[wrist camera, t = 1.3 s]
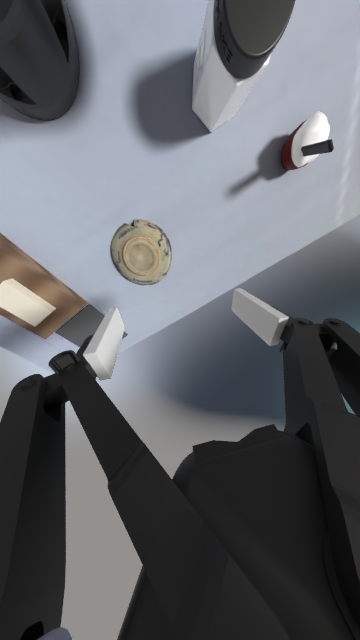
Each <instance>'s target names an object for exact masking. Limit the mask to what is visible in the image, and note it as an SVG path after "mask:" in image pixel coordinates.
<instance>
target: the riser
mask: <svg viewBox="0 0 360 640" xmlns="http://www.w3.org/2000/svg"><path fill="white" fill-rule="evenodd" d="M12 278H13V279H14V280H16V281H17V282H19V283H20V284H21V285H23V286H24V287H26V288H27V289H29V290H30V291H32V292H33V293H35V294H36V295H38V296H39V297H40V298H42V299H43V300H45V301H46V302H48V303H49V304H51V305H52V306H54V307H55V308H56V309H55V310H54V311H53V312H52V313H51V314H50V315H48V316H47V317H46V318H45V319H44V320H43V321H42V322H41V323H39V324H38V325H37V326H35V327H34V326H33V325H31V324H29V323H27V322H26V321H24V320H22V319H21V318H19V317H17V316H15V315H14V314H12V313H10V312H8V311H7V310H5V309H3V308H1V307H0V315H2V316H4V317H6V318H8V319H10V320H11V321H13V322H15V323H17V324H19V325H20V326H22V327H24V328H26V329H28V330H30V331H31V332H33V333H35V334H37V335H39V336H41V337H42V338H44V339H46V338H47V337H49V336H50V335H51V334H52V333H53V332H54V331H56V330H57V329H58V328H59V327H60V326H62V325H63V324H64V323H65V322H66V321H68V320H69V319H70V318H71V317H72V316H74V315H75V314H76V313H77V312H78V311H80V310H81V309H82V308H83V307H84V306H85V305H86V304H87V303H88V302H86V301H85V300H84V299H82V298H81V297H80V296H79V295H77V294H76V293H75V292H74V291H72V290H71V289H70V288H69V287H67V286H66V285H65V284H64V283H62V282H61V281H60V280H59V279H57V278H56V277H55V276H54V275H52V274H51V273H50V272H49V271H47V270H46V269H45V268H43V267H42V266H41V265H40V264H38V263H37V262H36V261H35V260H33V259H32V258H31V257H30V256H28V255H27V254H26V253H25V252H23V251H22V250H21V249H20V248H18V247H17V246H16V245H15V244H13V243H12V242H11V241H10V240H8V239H7V238H6V237H5V236H3V235H2V234H1V233H0V284H1V283H2V282H3V281H5V280H8V279H12Z"/></svg>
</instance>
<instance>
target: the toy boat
mask: <svg viewBox="0 0 360 640" xmlns="http://www.w3.org/2000/svg"><path fill="white" fill-rule="evenodd" d="M329 131H330V126H329V124H328V122H327V117H326V116H325V115H324V114H323V113H321V112H319V111H317V112H315V113H314V114H313V115H312V116H310V117H309V118H308V119H307V120H305V121H304V122H303V123H302V124H301V125H300V126H299V127H298V128H297V129H295V130H294V132H293V133H292V134H291V135H290V136H289V137H288V139H287V141H286V143H285V145H284V147H283V151H282V155H281V162H282V164H283V167H284V168H286V169H288V170H294V169H297V168H301V167H303V166H305V165H306V164H308V163H309V162H311V161H312V160H314V159H315V158H316V157H317V156H318V155H319V154H322V153H328V152H332V151H333V149H334V147H333V143H332V139H331V140H327V138H328V135H329Z"/></svg>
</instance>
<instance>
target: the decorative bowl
mask: <svg viewBox="0 0 360 640" xmlns="http://www.w3.org/2000/svg"><path fill="white" fill-rule="evenodd" d="M111 252H112V257H113V261H114V263H115V265H116V267H117V269H118V270H119V272H120V273H121V274H122V275H123V276H124V277H125V278H126V279H128V280H129V281H131V282H133V283H135V284H139V285H149V284H150V285H151V284H156V283H158V282H159V281H161V280H162V279H163V278H164V277H165V276H166V274H167V272H168V269H169V267H170V263H171V246H170V242H169V240H168V238H167V236H166V234H165V233H164V232H163V230H162V229H161V228H160V227H158V226H157V225H155V224H154V223H152V222H150V221H147V220H141V219H137V220H134V227H133V226H131V225H129V224H123V225H122V226H120V227H119V228H118V230H117V231H116V232H115V234H114V236H113V239H112V244H111Z"/></svg>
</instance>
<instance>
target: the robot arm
mask: <svg viewBox="0 0 360 640" xmlns="http://www.w3.org/2000/svg"><path fill="white" fill-rule="evenodd" d="M78 82H79V57H78V49H77V43H76V38H75V34H74V29H73V26H72V22H71V19H70V15H69V12H68V9H67V7H66V4H65V1H64V0H0V98H2V99H3V100H4V101H5V102H6V103H8V104H9V105H10V106H12V107H13V108H15V109H16V110H18V111H20V112H22V113H23V114H25V115H28V116H30V117H33V118H37V119H42V120H51V119H55V118H58V117H60V116H62V115H63V114H65V113H66V112H67V111H68V110H69V108H70V107H71V105H72V103H73V101H74V99H75V96H76V93H77V89H78ZM232 311H233V312H234V313H235V314H236V315H237V316H238V317H239V318H240V319H241V320H242V321H243V322H245V323H246V324H247V325H248V326H249V327H250V328H251V329H252V330H253V331H254V332H255V333H256V334H257V335H259V336H260V337H261V338H262V339H263V340H264V341H265V342H266V343H267V344H268V345H269V346H272V345H277V344H278V343H279V340H280V339H281V340H283V341H284V342H283V344H282V347H281V349H280V352H281V351H283V372H284V392H285V413H286V425H285V429H284V431H279V430H277V428H276V427H275V425H274V424H272V425H269V426H265V427H261V428H258V429H255V430H253V431H252V432H251V433H249V434H248V435H247V436H245V437H244V438H243V439H241V440H240V441H238V442H228V441H215V440H213V441H209V442H206V443H202V444H199V445H195V446H193V452H192V453H191V454H189V455H188V456H187V457H186V458H185V459H184V460H183V461H182V463H181V464H180V466H179V467H178V469H177V470H176V473H175V475H174V477H173V479H171V478H170V477H169V475H168V474H167V473H166V471H165V470H164V469H163V467H162V466H161V465H160V464H159V462H158V461H157V460H156V458H155V457H154V456H153V454H152V453H151V452H150V451H149V449H148V448H147V447H146V445H145V444H144V443H143V442H142V441H141V440H140V438H139V437H138V436H137V434H136V433H135V432H134V430H133V429H132V428H131V426H130V425H129V424H128V422H127V421H126V420H125V418H124V417H123V416H122V414H121V413H120V412H119V410H118V409H117V408H116V407H115V405H114V404H113V403H112V401H111V400H110V399H109V398H108V396H107V395H106V393H105V392H104V391H103V389H102V388H101V387H100V386H99V384H98V383H97V382H96V377H98V378H99V380H105V379H110V378H111V376H112V372H113V369H114V365H115V361H116V358H117V355H118V351H119V347H120V344H121V340H122V337H123V333H124V330H125V327H124V324H123V322H122V319H121V316H120V314H119V311H118V308H117V307H114V308H109V310H108V312H107V313H106V315H105V317H104V319H103V320H102V322H101V324H100V326H99V327H98V329H97V331H96V333H95V334H94V335H90V336H89V337H87V338H86V339H85V341H84V342H83V345H81V347H80V348H79V350H78V352H77V353H76V354H75V352H74V351H72V350H68V351H64V352H62V353H59V354H58V355H56V356H54V357H53V358H52V359H51V360H50V362H49V366H50V367H51V368H52V370H53V371H54V372H55V374H52V375H50V376H47V377H45V378H44V377H43V376H42V375H40V374H34V375H31V376H29V377H27V378H25V379H23V380H22V381H20V382H19V383H18V384H17V385H16V386H15V387H14V388H13V390H12V392H11V395H10V397H9V400H8V403H7V406H6V408H5V411H4V414H3V416H2V419H1V422H0V640H72V637H71V636H70V634H69V632H68V630H67V629H65V628H62V627H60V624H61V616H62V606H63V598H64V588H65V566H66V564H65V563H66V519H65V518H66V509H65V507H66V501H65V402H67V401H69V400H70V402H71V404H72V406H73V408H74V411H75V412H76V415H77V416H78V419H79V421H80V423H81V425H82V427H83V429H84V431H85V433H86V435H87V437H88V439H89V441H90V443H91V445H92V448H93V450H94V452H95V453H96V456H97V458H98V460H99V462H100V464H101V466H102V468H103V470H104V472H105V474H106V476H107V479H108V489H109V492H110V495H111V497H112V500H113V502H114V504H115V506H116V508H117V510H118V513H119V515H120V517H121V519H122V521H123V523H124V525H125V528H126V530H127V532H128V534H129V536H130V538H131V540H132V543H133V545H134V547H135V549H136V551H137V553H138V556H139V558H140V560H141V562H142V564H143V566H142V569H141V572H140V575H139V578H138V581H137V584H136V586H135V590H134V592H133V595H132V598H131V601H130V604H129V607H128V610H127V613H126V616H125V618H124V622H123V624H122V628H121V630H120V633H119V636H118V639H117V640H360V333H359V332H357V331H356V330H355V329H354V328H352V327H351V326H350V325H349V324H347V323H345V322H344V321H341V320H339V319H332V318H327V319H324V321H323V323H322V324H314V323H313V322H311V321H310V320H307V319H303V318H295V319H294V318H292V317H291V316H289V315H287V314H286V313H284V312H282V311H280V310H278V309H277V308H275V307H274V306H271V305H268V304H266V303H264V302H263V301H261V300H259V299H258V298H256V297H254V296H253V295H251V294H249V293H248V292H246V291H244V290H242V289H241V288H239V289H234V295H233V302H232ZM336 344H337V350H336V349H335V348H334V347H335V345H336ZM341 394H342V395H343V397H344V398H345V400H346V401H347V402H348V404H349V406H350V407H351V409H352V410H353V411H354V413H355V414H356V415H354V414H352V413H349V412H348V410H347V409H346V406H345V403H344V400H343V398H342V395H341Z"/></svg>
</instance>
